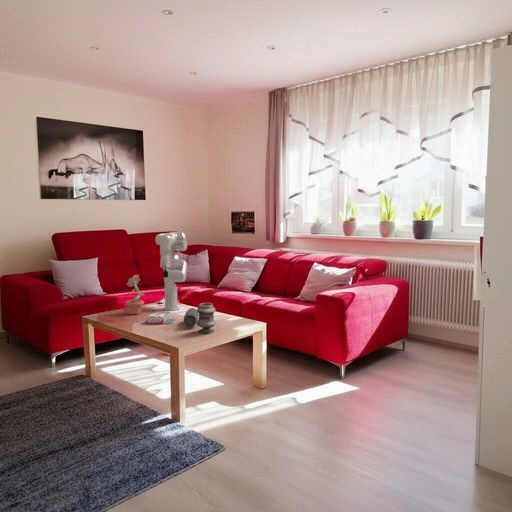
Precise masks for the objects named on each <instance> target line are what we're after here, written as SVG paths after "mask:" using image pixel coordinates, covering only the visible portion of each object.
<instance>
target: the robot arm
mask: <svg viewBox="0 0 512 512" xmlns="http://www.w3.org/2000/svg"><path fill="white" fill-rule="evenodd" d="M155 243H156V245H158V246H160V247H159V248H160V249H159V250H160V251H159V253H160V254H159V255H160V265H159V266H160V268H161V269H162V270H163V271H162V272H163V273H162V275H163V281H164V307H163V308H162V310H163V309H164V310H163V311H167V310H173V311H177V310H176V309H178V310H180V307H179V306H178V287H177V284H176V283H175V282H177V283H178V282H179V283H180V282H185V281H186V278H187V271H188V270H187V269H188V263H187V261H186V260H185V259H180V257H179V255H178V254H177V252H184V251H186V250H187V249H188V243H187V237H186V235H185V233H184V232H183V231H170V232H166V233H159V234H156V236H155Z"/></svg>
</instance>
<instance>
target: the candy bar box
mask: <svg viewBox="0 0 512 512" xmlns="http://www.w3.org/2000/svg"><path fill="white" fill-rule="evenodd" d="M170 314H171V313H170V311H154V312H152V313H151V314H150V315H148V316H147V319H148V323H159V324H158V325H164V324H163V323H164V322H166V321H167V320H168V319H171V317H170V316H171V315H170Z"/></svg>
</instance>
